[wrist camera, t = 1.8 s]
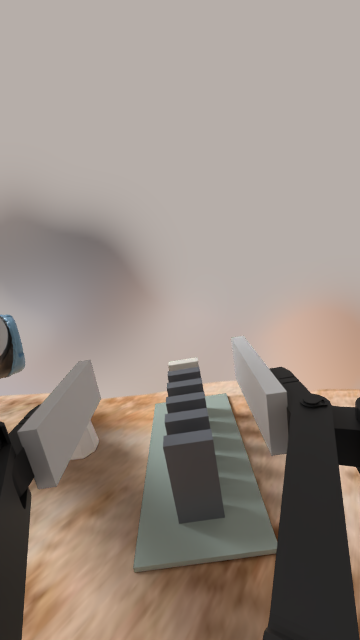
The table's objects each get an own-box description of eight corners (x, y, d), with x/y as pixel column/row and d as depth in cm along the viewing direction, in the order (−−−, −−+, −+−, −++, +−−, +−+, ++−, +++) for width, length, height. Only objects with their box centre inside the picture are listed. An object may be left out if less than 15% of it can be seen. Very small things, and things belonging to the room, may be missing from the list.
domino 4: (215, 463, 36) (205, 398, 34) (178, 468, 36) (165, 403, 34) (213, 454, 38) (204, 391, 35) (178, 459, 38) (166, 397, 35)
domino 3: (211, 443, 40) (202, 383, 37) (178, 448, 40) (166, 388, 37) (210, 436, 41) (201, 377, 39) (178, 440, 41) (167, 383, 39)
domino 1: (205, 412, 47) (197, 361, 45) (178, 417, 47) (168, 365, 45) (205, 407, 49) (197, 357, 46) (177, 411, 49) (168, 361, 46)
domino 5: (219, 487, 32) (208, 415, 30) (178, 492, 33) (164, 422, 30) (217, 476, 34) (206, 407, 31) (178, 481, 34) (165, 414, 32)
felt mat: (279, 552, 25) (279, 548, 25) (134, 572, 26) (133, 567, 26) (226, 396, 52) (226, 393, 52) (156, 406, 53) (155, 403, 53)
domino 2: (208, 426, 43) (199, 371, 41) (178, 431, 44) (167, 376, 41) (207, 420, 45) (199, 366, 42) (178, 425, 45) (168, 371, 43)
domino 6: (224, 517, 29) (213, 439, 26) (179, 523, 29) (162, 446, 26) (222, 503, 30) (211, 428, 28) (179, 510, 30) (163, 435, 28)
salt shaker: (65, 444, 46) (47, 387, 43) (98, 432, 48) (82, 377, 45) (65, 466, 41) (44, 403, 38) (101, 451, 43) (83, 390, 40)
